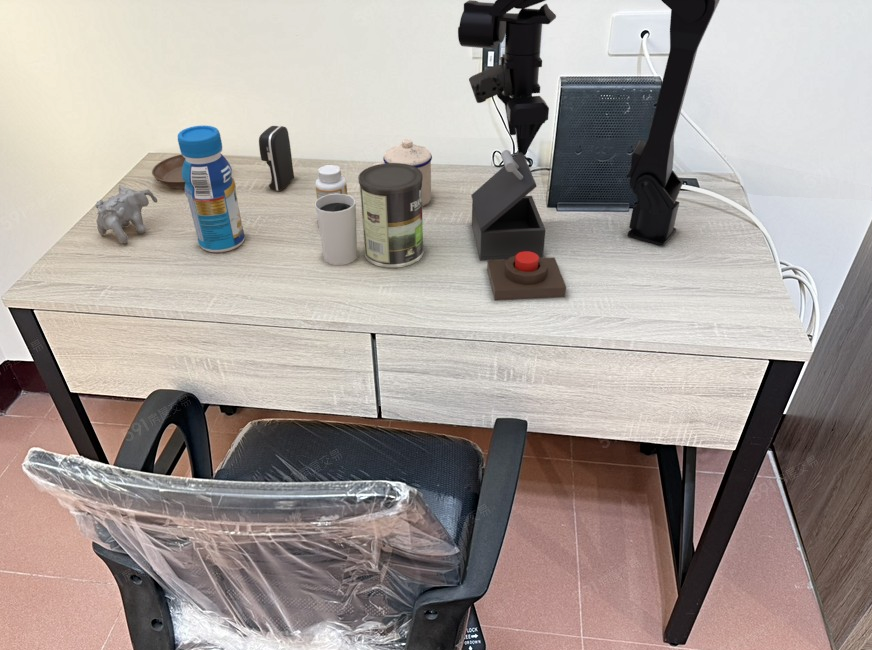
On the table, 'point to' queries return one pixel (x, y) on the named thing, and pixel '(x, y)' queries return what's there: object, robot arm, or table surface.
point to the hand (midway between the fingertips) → (517, 144)
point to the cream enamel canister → (413, 163)
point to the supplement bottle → (330, 181)
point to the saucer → (170, 172)
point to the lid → (503, 189)
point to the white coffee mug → (337, 228)
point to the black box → (511, 232)
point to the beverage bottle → (210, 189)
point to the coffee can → (392, 214)
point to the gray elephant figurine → (122, 212)
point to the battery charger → (277, 156)
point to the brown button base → (525, 280)
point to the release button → (526, 261)
